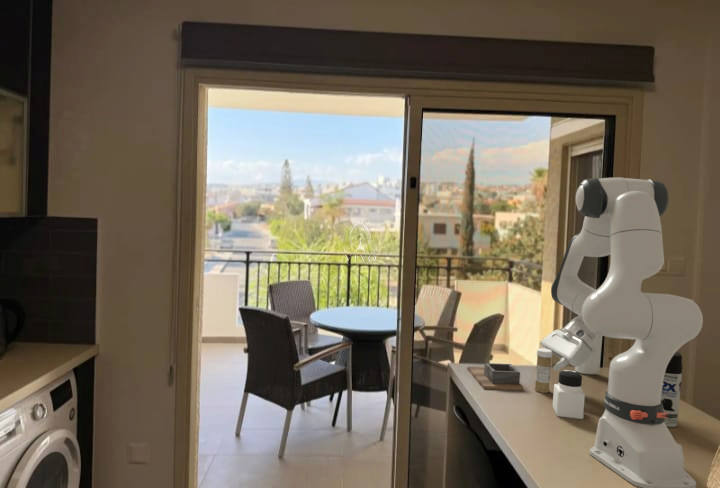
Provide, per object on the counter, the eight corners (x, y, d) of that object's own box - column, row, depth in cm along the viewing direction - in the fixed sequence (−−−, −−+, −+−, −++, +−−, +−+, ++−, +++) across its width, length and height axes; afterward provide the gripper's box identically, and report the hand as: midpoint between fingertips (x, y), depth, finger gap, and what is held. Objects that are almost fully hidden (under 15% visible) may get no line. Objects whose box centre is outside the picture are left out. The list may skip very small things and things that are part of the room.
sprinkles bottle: (539, 387, 165) (542, 347, 164) (552, 391, 161) (555, 350, 161) (531, 389, 162) (534, 349, 161) (544, 394, 159) (547, 352, 158)
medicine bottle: (583, 419, 140) (587, 377, 139) (556, 416, 141) (559, 374, 140) (578, 410, 147) (581, 369, 146) (552, 407, 148) (555, 367, 147)
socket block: (523, 390, 161) (524, 374, 161) (483, 388, 161) (484, 373, 160) (502, 370, 181) (503, 356, 181) (467, 369, 181) (468, 355, 180)
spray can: (650, 424, 139) (656, 353, 137) (649, 416, 145) (655, 347, 143) (678, 430, 136) (685, 357, 134) (676, 421, 142) (682, 351, 140)
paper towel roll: (571, 370, 186) (575, 313, 185) (582, 368, 189) (587, 312, 187) (587, 376, 179) (591, 317, 178) (599, 374, 182) (603, 316, 181)
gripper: (555, 321, 172) (525, 348, 171) (589, 336, 152) (556, 367, 151) (566, 334, 173) (537, 361, 172) (601, 350, 152) (568, 382, 152)
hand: (546, 364), depth 161 cm, fingers open, 8 cm apart
